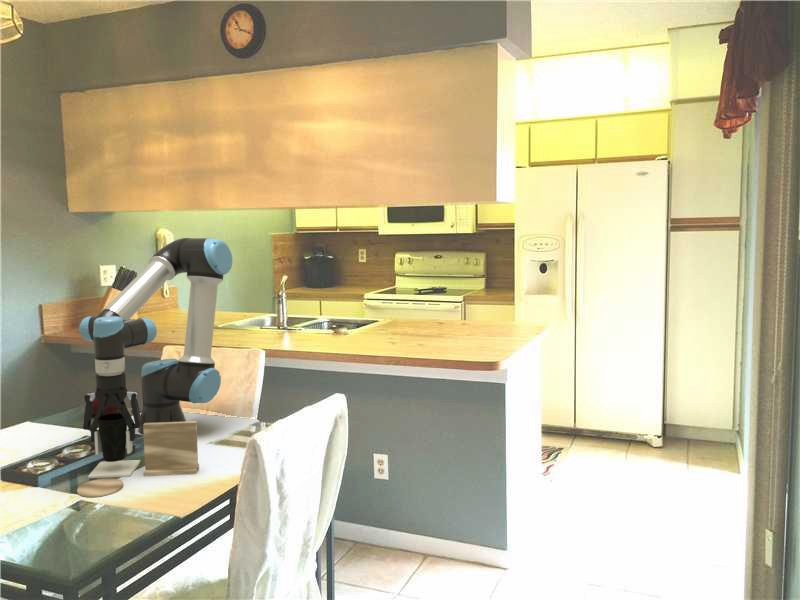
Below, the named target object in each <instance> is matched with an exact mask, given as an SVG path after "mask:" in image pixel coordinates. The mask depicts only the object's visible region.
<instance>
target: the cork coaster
mask: <svg viewBox="0 0 800 600" xmlns="http://www.w3.org/2000/svg"><path fill="white" fill-rule="evenodd" d="M123 488H124V481H123V480H122V479H120V478H116V477H109V478H96V479H92V480H90V481H87V482H84V483H83V484H81V485H80V486H78V487H77V489H76V490H77V492H76V493H77V495H78V496H80V497H84V498H101V497H107V496H110V495H113V494H115V493H118V492H119V491H121V490H122V489H123Z"/></svg>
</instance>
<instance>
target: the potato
mask: <svg viewBox="0 0 800 600" xmlns="http://www.w3.org/2000/svg"><path fill="white" fill-rule="evenodd" d="M99 405H100V401H99V400H98V399H97V398H96V397H95V399H94V400H93V409H92V415H96V413H97V411H98V407H99ZM117 411H119V409H118V408H117V406H109V407H105V410H104V412H103V415H105V414H110V413H117Z"/></svg>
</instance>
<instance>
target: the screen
mask: <svg viewBox="0 0 800 600" xmlns="http://www.w3.org/2000/svg"><path fill="white" fill-rule="evenodd" d="M197 425H198V423H197V421H196V420H193V421H189V420H188V421H186V422H159V423H144V424H143V432H144V434H143V451H144V454H143V455H144V471H143V476H144V477H147V476H146V475H153V476H169V475H168V474H175V475H193V474H194V475H195V474H197V473H198V470H199V468H200V463H199V456H198V455H199V454H198V451H199V450H198V426H197Z"/></svg>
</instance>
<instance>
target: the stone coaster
mask: <svg viewBox="0 0 800 600" xmlns="http://www.w3.org/2000/svg"><path fill="white" fill-rule="evenodd" d="M140 463H141V459H133V460H131V459H130V460H127V459H126V460H120V461H116V462H106V461H104V460H103V461H100V462H99V463H98V464H97V465H96V466H95V467H94V469H92V471H91V472H90V473H89V475H87V479H103V478H126V477H127V478H129V477H131V476H132V475H133V473H134V472H135V471H136V469H137V467H138V466H139V465H140Z"/></svg>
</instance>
